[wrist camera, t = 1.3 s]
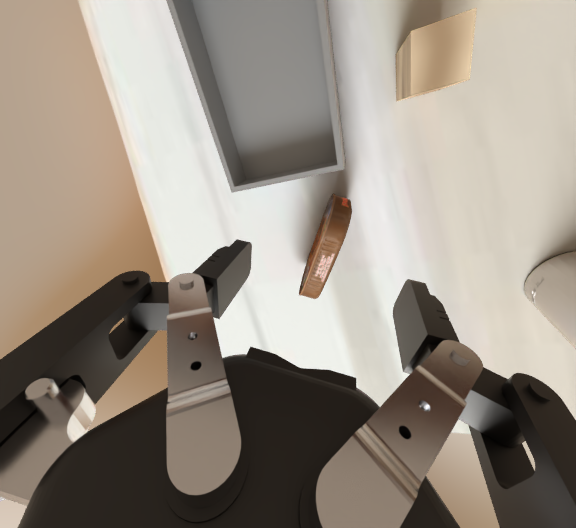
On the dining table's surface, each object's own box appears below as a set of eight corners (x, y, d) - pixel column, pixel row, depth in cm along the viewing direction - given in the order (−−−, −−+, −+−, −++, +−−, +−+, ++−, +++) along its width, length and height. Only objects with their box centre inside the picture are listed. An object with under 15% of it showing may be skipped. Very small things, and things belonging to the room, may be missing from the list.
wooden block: (441, 39, 23) (476, 7, 16) (438, 89, 25) (469, 79, 18) (395, 55, 24) (410, 30, 17) (396, 101, 26) (410, 95, 19)
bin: (318, -79, 21) (308, -128, 17) (345, 162, 30) (343, 169, 26) (188, -8, 25) (155, -32, 21) (246, 183, 34) (231, 192, 30)
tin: (333, 185, 32) (327, 204, 25) (356, 193, 32) (356, 214, 25) (302, 272, 40) (291, 305, 33) (320, 279, 40) (312, 313, 33)
